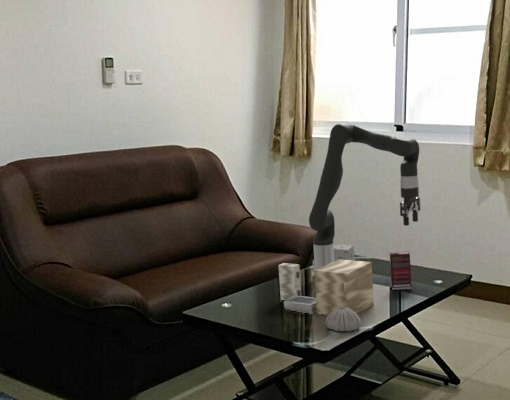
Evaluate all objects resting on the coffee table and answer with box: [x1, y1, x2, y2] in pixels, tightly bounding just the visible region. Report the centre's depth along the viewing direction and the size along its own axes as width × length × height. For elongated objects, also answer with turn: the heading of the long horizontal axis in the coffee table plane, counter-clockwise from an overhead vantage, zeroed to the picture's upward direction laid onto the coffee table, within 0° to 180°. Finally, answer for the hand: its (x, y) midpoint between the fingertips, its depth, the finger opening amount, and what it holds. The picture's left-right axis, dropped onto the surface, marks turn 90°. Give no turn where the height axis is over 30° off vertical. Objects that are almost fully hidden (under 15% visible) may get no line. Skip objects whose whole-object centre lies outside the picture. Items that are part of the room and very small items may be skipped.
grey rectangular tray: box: [283, 295, 317, 315], centre depth 327 cm, size 13×9×4 cm
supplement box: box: [389, 251, 413, 291], centre depth 347 cm, size 9×5×16 cm, turn 84°
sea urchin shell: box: [325, 307, 362, 332], centre depth 299 cm, size 13×14×8 cm
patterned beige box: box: [311, 259, 375, 316], centre depth 323 cm, size 17×20×18 cm
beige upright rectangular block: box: [278, 262, 302, 301], centre depth 339 cm, size 9×4×16 cm, turn 53°
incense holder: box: [333, 244, 356, 262], centre depth 394 cm, size 10×8×10 cm
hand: (410, 223), depth 340 cm, fingers open, 8 cm apart
